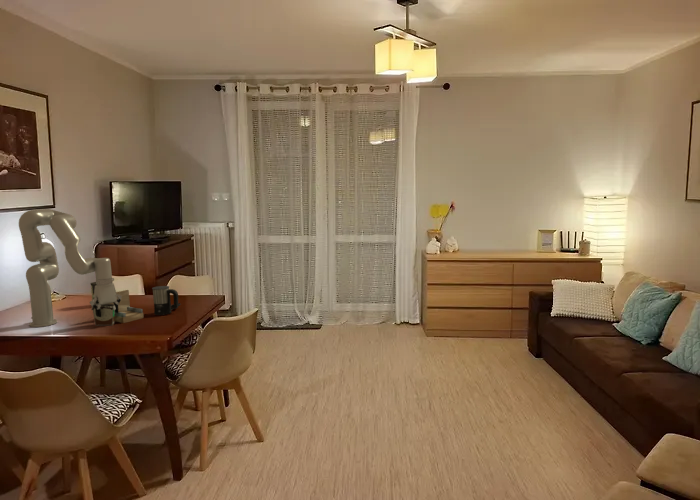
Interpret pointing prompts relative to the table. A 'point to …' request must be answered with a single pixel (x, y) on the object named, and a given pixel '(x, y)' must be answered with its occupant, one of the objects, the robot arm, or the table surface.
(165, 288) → the milk frother
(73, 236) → the robot arm
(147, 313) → the table surface
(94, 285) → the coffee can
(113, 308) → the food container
